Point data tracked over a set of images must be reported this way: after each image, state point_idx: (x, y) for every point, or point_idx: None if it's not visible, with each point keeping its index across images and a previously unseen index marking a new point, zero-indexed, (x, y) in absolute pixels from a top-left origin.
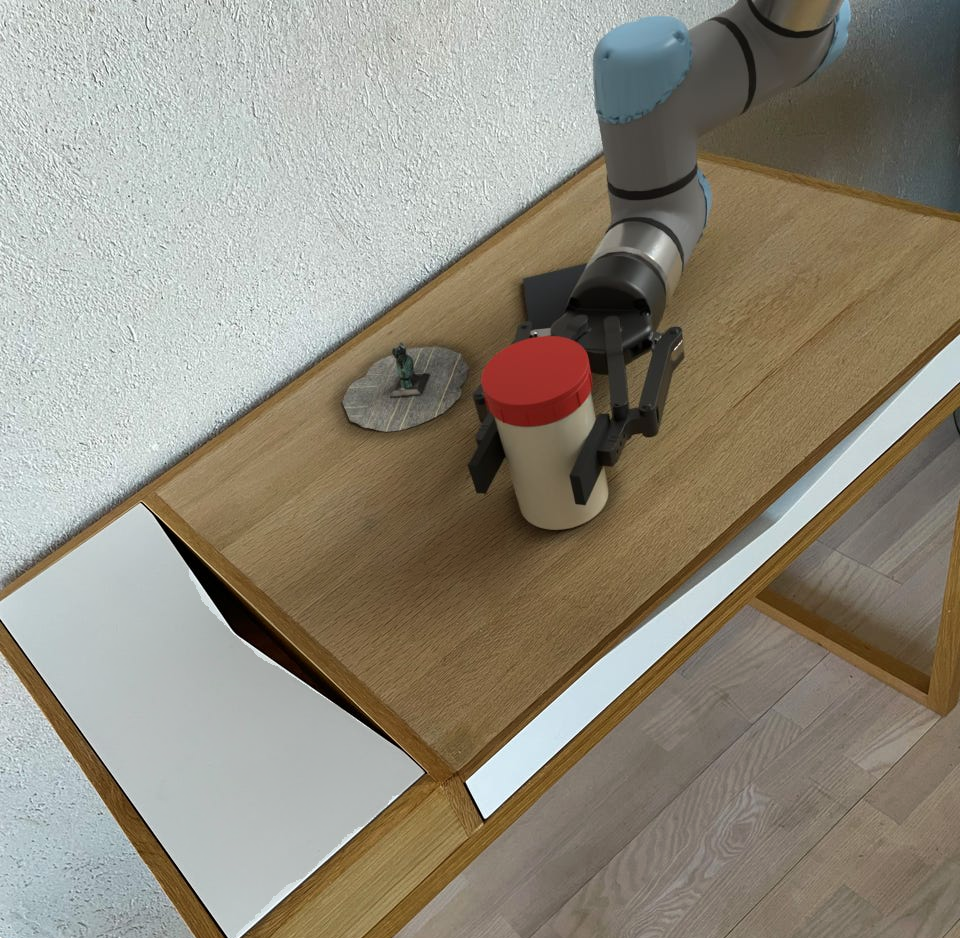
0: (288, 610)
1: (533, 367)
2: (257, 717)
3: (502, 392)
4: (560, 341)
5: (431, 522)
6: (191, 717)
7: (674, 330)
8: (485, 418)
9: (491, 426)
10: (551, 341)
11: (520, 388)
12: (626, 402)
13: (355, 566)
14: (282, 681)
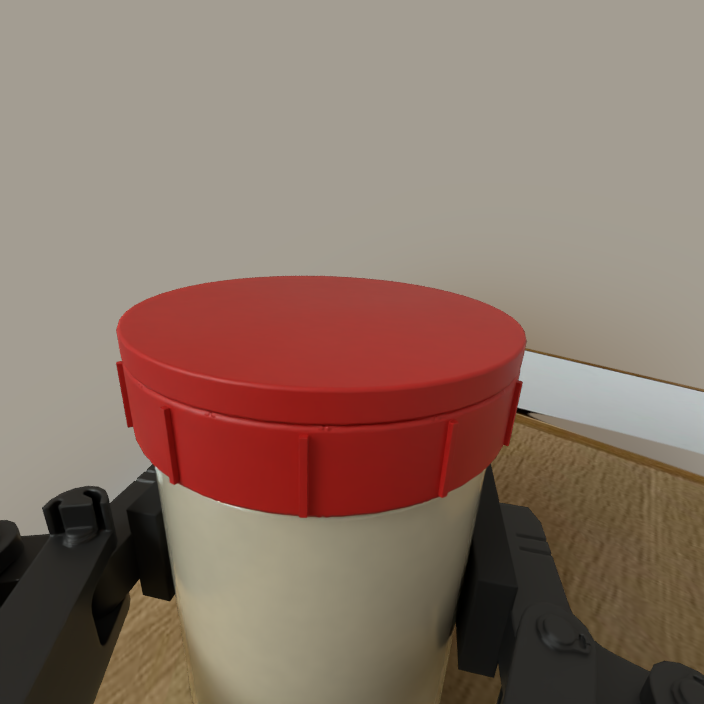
0: (674, 477)
1: (331, 309)
2: (570, 399)
3: (403, 288)
4: (210, 354)
5: (609, 630)
6: (632, 400)
7: None
8: (560, 585)
9: (493, 504)
10: (258, 362)
11: (356, 288)
12: (51, 499)
13: (657, 535)
14: (581, 418)
